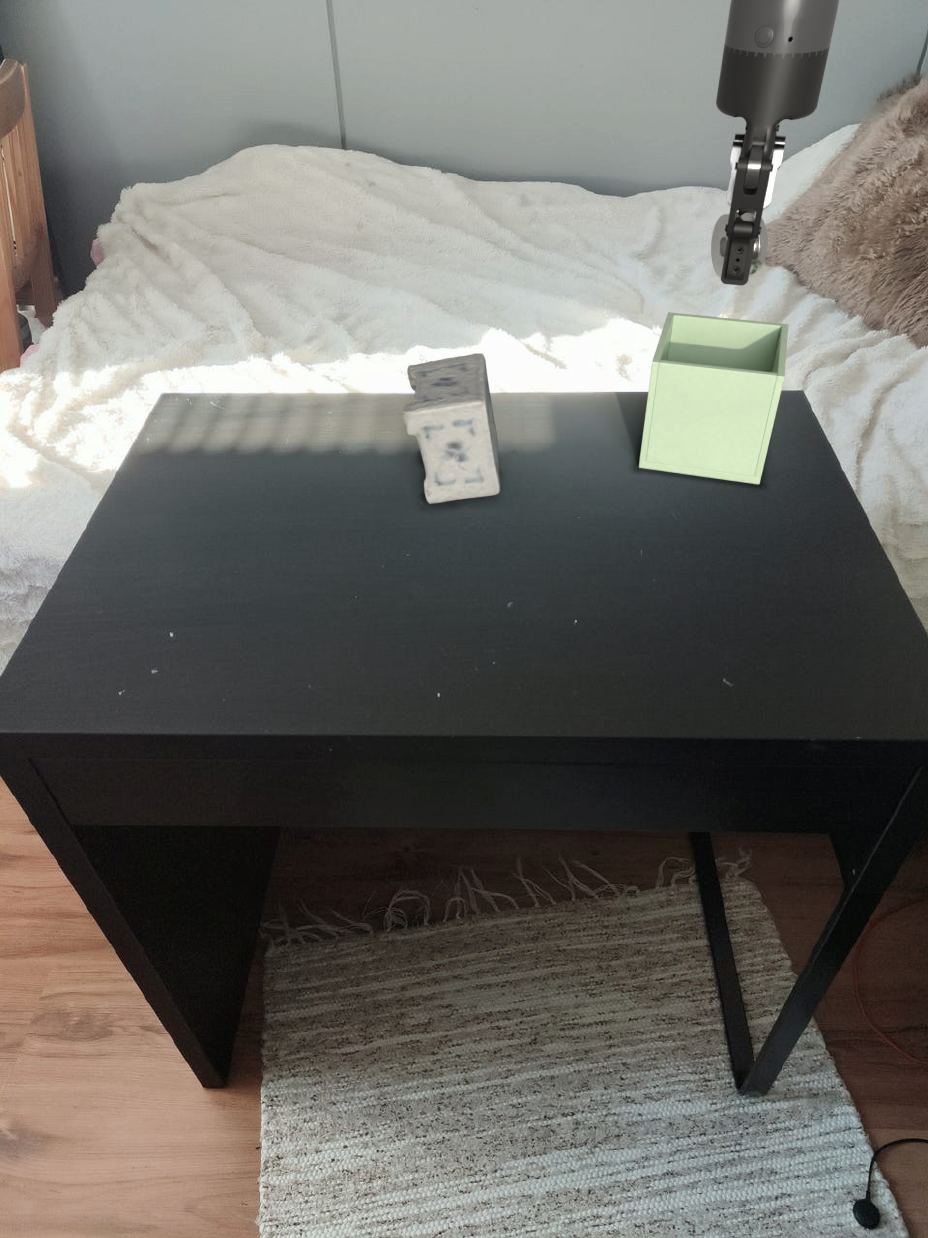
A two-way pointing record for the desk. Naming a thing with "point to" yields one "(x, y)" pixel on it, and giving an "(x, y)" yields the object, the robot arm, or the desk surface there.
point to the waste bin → (713, 396)
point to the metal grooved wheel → (721, 240)
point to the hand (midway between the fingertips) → (736, 269)
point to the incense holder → (454, 428)
